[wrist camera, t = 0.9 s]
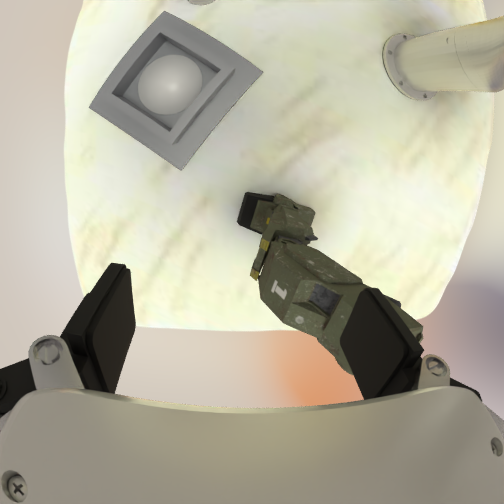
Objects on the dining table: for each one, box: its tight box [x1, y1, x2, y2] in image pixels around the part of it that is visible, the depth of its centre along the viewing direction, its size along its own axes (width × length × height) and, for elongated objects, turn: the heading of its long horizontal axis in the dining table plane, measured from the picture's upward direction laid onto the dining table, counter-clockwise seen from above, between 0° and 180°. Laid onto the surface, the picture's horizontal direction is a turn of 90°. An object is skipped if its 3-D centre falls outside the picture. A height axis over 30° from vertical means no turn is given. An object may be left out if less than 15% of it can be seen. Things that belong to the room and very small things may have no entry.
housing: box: [89, 11, 263, 170], centre depth 29 cm, size 18×18×5 cm
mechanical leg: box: [237, 192, 423, 375], centre depth 29 cm, size 14×7×30 cm, turn 74°
